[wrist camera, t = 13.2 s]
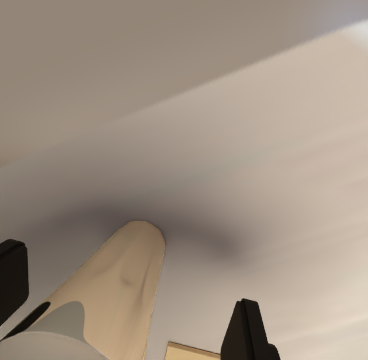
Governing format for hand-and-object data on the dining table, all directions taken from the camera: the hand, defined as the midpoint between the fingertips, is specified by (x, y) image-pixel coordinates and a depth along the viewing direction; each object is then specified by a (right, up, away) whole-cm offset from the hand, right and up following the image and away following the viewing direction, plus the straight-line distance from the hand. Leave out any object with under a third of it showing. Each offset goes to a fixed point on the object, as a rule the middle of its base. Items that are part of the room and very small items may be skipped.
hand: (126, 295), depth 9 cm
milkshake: (0, +1, +5) cm, 5 cm away
